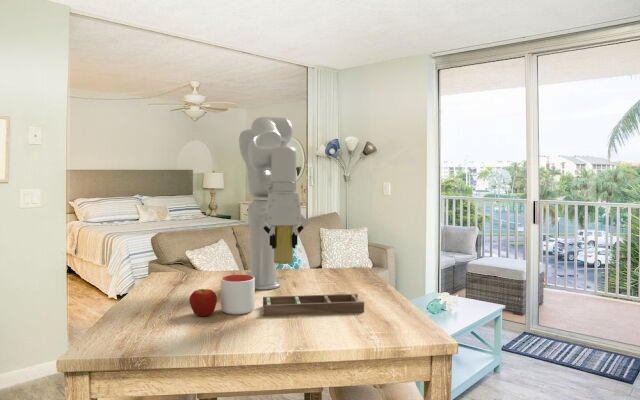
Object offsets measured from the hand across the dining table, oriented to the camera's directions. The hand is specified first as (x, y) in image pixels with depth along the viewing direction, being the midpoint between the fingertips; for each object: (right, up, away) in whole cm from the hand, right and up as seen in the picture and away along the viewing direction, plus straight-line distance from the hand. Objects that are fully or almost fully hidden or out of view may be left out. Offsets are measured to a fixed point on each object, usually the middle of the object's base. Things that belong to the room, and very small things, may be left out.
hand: (283, 247), depth 141 cm
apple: (-23, -20, -4) cm, 31 cm away
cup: (-14, -19, 0) cm, 24 cm away
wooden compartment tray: (+9, -19, +2) cm, 21 cm away
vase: (0, -5, 0) cm, 5 cm away
